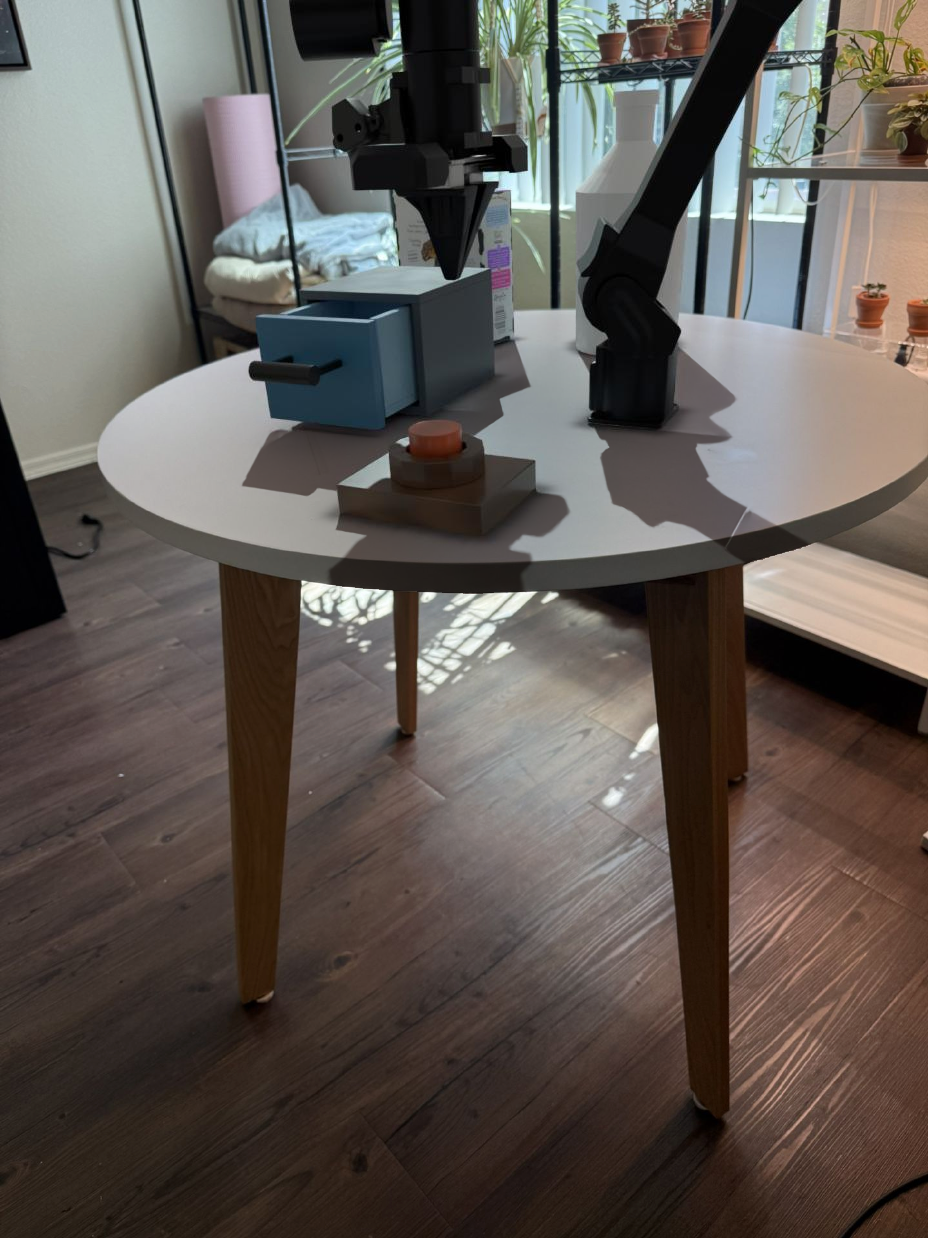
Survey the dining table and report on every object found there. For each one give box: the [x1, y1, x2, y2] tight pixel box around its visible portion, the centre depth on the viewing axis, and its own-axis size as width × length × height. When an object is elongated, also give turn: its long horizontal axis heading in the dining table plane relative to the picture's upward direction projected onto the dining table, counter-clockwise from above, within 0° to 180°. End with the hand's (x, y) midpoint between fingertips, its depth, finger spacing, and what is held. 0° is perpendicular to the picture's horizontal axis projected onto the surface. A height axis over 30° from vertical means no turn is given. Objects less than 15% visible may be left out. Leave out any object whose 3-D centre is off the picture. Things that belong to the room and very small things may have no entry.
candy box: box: [391, 189, 515, 345], centre depth 104 cm, size 14×6×16 cm, turn 48°
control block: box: [335, 433, 537, 538], centre depth 61 cm, size 11×9×4 cm
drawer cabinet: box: [298, 265, 496, 417], centre depth 85 cm, size 15×13×11 cm
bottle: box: [575, 88, 690, 356], centre depth 94 cm, size 12×12×25 cm
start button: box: [407, 419, 463, 458], centre depth 60 cm, size 4×4×2 cm
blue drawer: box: [247, 300, 419, 431], centre depth 77 cm, size 18×11×9 cm, turn 153°
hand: (452, 279), depth 72 cm, fingers closed
